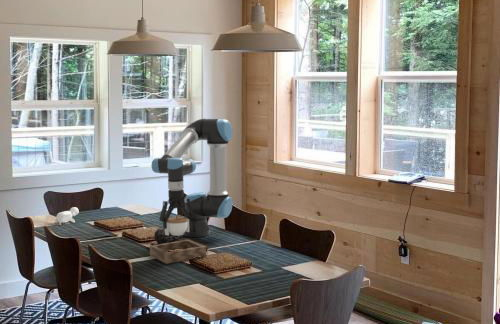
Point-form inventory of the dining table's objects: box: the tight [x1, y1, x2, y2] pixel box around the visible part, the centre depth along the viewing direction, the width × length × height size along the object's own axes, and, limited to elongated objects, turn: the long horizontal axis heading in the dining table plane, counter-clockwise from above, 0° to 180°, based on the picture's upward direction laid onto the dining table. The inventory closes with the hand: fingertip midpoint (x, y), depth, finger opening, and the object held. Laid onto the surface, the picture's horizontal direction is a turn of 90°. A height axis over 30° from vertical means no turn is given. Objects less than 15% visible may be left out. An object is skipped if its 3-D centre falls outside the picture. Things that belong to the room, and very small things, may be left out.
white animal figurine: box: [54, 206, 80, 226], centre depth 444 cm, size 9×8×15 cm
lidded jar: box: [167, 215, 188, 237], centre depth 361 cm, size 11×11×9 cm
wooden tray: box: [149, 238, 207, 264], centre depth 363 cm, size 22×18×5 cm
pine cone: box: [153, 226, 180, 244], centre depth 381 cm, size 10×18×10 cm, turn 41°
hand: (177, 233), depth 362 cm, fingers closed on lidded jar, 11 cm apart
